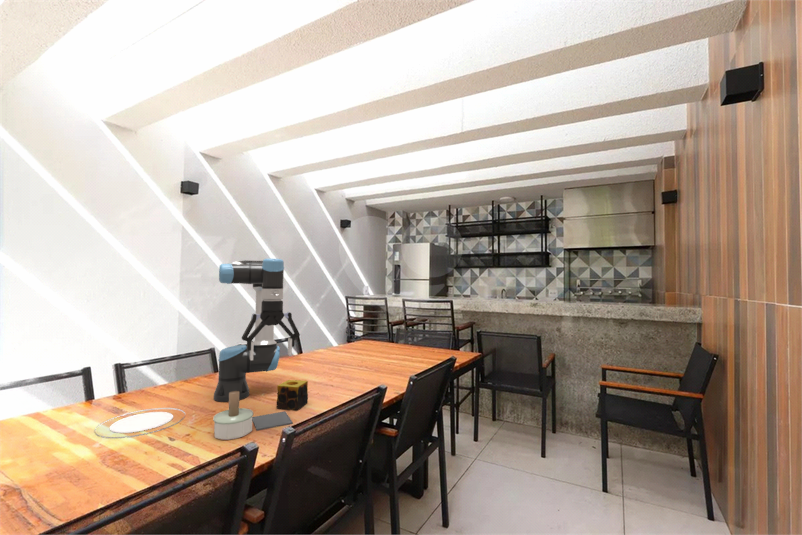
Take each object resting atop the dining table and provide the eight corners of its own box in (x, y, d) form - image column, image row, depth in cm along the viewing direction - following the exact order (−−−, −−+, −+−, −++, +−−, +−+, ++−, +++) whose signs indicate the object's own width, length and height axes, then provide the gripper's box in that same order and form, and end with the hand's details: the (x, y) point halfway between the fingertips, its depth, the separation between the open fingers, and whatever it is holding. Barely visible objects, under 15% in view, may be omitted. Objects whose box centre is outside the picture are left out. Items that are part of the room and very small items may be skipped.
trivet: (251, 418, 140) (251, 417, 140) (285, 412, 147) (285, 411, 147) (256, 430, 129) (256, 429, 129) (292, 423, 136) (292, 422, 136)
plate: (101, 447, 116) (101, 444, 116) (89, 423, 135) (89, 421, 135) (195, 422, 137) (195, 420, 137) (173, 404, 156) (173, 403, 156)
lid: (212, 414, 130) (213, 390, 130) (250, 408, 136) (251, 385, 137) (214, 427, 119) (214, 400, 119) (255, 419, 125) (256, 394, 126)
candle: (297, 411, 149) (297, 387, 149) (275, 409, 151) (276, 385, 151) (308, 403, 159) (308, 380, 159) (287, 401, 161) (288, 379, 161)
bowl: (213, 429, 130) (214, 414, 130) (249, 423, 136) (249, 408, 136) (215, 442, 119) (215, 426, 119) (253, 435, 125) (253, 419, 125)
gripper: (237, 301, 121) (235, 363, 121) (308, 299, 135) (307, 355, 134) (234, 300, 128) (232, 359, 127) (302, 298, 141) (301, 352, 140)
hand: (271, 357), depth 131 cm, fingers open, 13 cm apart
